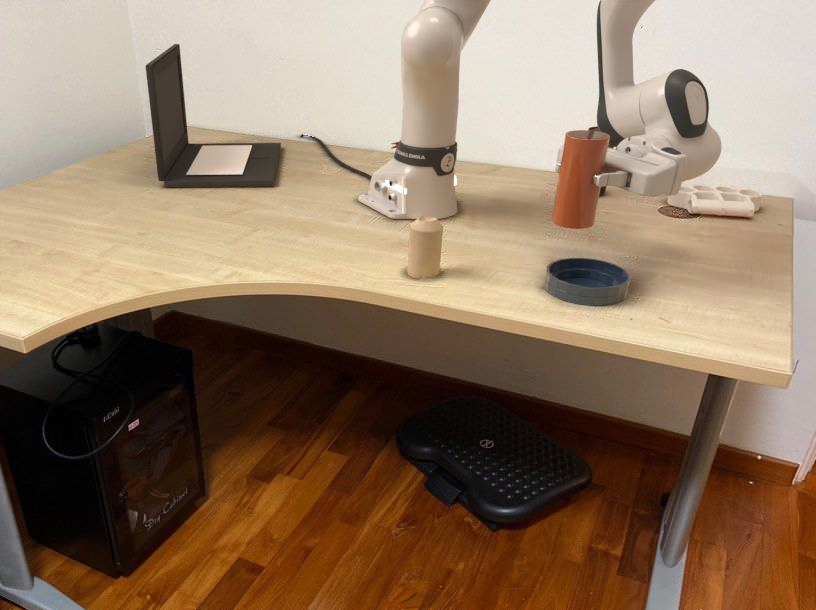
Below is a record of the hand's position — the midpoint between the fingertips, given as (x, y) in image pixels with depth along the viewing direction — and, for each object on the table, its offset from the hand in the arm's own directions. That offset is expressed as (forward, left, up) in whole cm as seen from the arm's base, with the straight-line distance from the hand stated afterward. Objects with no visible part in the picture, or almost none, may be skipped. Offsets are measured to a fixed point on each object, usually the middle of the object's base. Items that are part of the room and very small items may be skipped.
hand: (576, 174), depth 120 cm
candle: (-16, -16, -18) cm, 29 cm away
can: (-26, +47, -18) cm, 56 cm away
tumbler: (0, +1, -8) cm, 8 cm away
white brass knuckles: (-3, +57, -18) cm, 60 cm away
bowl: (+6, -1, -18) cm, 19 cm away
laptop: (-98, -5, -18) cm, 100 cm away
